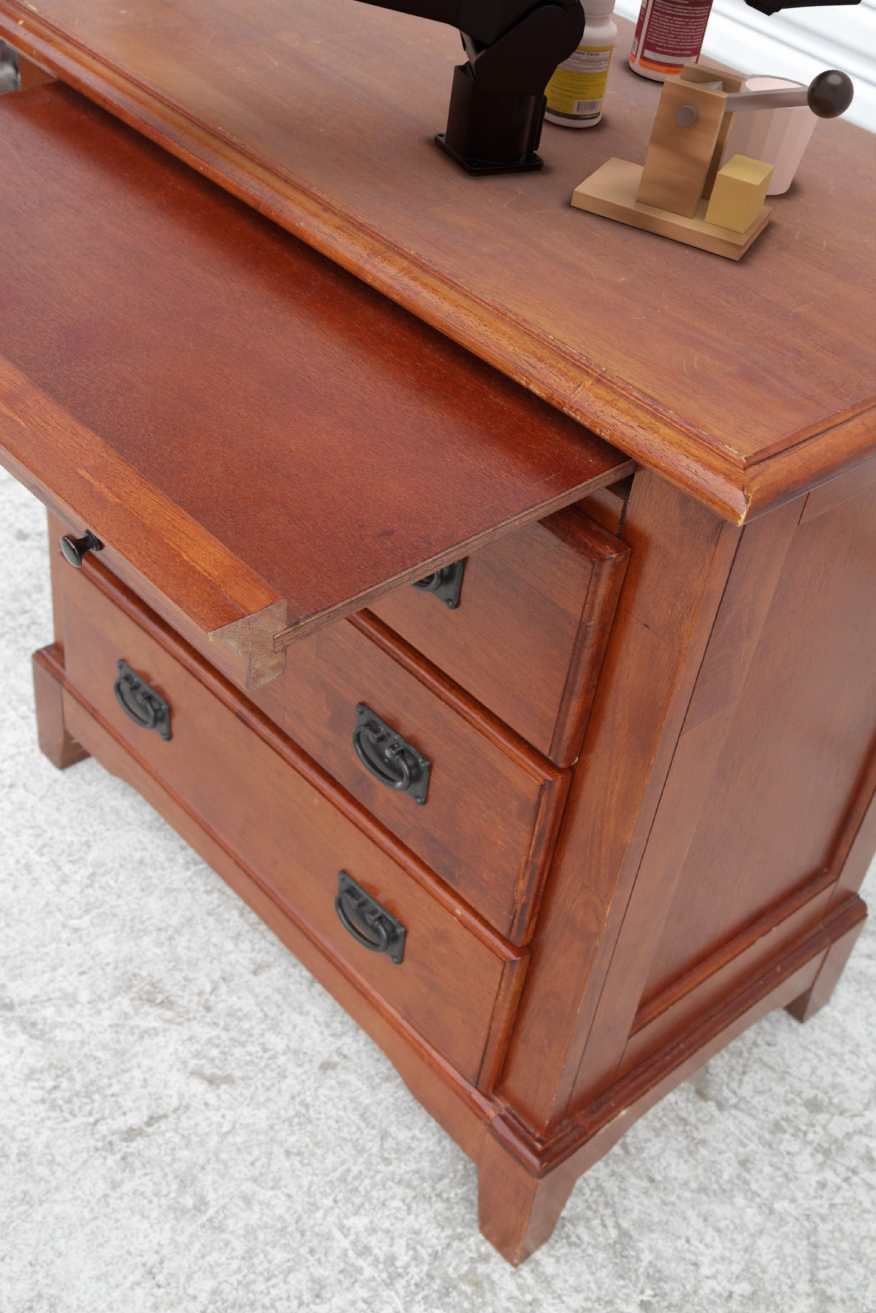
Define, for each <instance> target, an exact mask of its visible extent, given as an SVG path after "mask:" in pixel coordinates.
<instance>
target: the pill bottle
mask: <svg viewBox="0 0 876 1313" xmlns="http://www.w3.org/2000/svg"><path fill="white" fill-rule="evenodd" d="M713 4H714V0H641V3H640V8H639V12H638V16H637V17H638V18H637V22H636V26H635V30H634V34H633V41H632V44H631V50H630V54H629V58H628V59H629V61H628V63H629V67H630V69H631V70H632V71H634V72H635V73H636V74H638V75H640V76H642V77H644V78H647V79H650V80H653V81H658V82H662V83H664V81H665V79H666V78H667V77H669V76H672V77H675V78H679V79H680V76H681V72H682V68H683V65H684V64H685V63H686V62H687V61H689V62H693V63H696V64H699V60H700V56H701V52H702V48H703V43H704V40H705V35H706V32H707V28H708V24H709V19H710V16H711V11H712V8H713Z"/></svg>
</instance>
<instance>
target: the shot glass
mask: <svg viewBox="0 0 876 1313" xmlns="http://www.w3.org/2000/svg"><path fill="white" fill-rule="evenodd" d="M741 77H743V78H746V81H745V84H744V88H743V91H742V92H749V91H761V90H773V89H784V88H796V87H808V86H809V85H807V84H806V83H803V82H802V81H801V82H800V81H797V80H794V79H791V78H788V77H782V76H777V75H772V74H755V73H753V74H747V75H744V76H741ZM819 118H820V117H818V116H817V115H815V114H814V113H813V112H812V111H811V110H810V108H809V106H798V107H785V108H772V109H760V110H747V111H737V112H736V116H735V120H734V123H733V127H732V130H731V134H730V137H729V141H728V144H727V148H726V151H725V155H724V159H723V162H722V166H721V169H722V168H723V167H724V166H725V165H726V163H727V162H728V161H729V160H730V159H731V158H732V157H733V156H734V155H735V154H738V155H742V156H745V157H748V158H751V159H754V160H758V161H761V162H764V163H767V164H770V165H774V166H775V168H774V171H773V174H772V177H771V181H770V184H769V187H768V190H767V193H766V196H777V195H781V194H786V192H787V191H788V190H789V189H790V186H791V184H792V182H793V179H794V177H795V175H796V172H797V170H798V167H799V165H800V163H801V160H802V159H803V156H804V153H805V151H806V149H807V146H808V144H809V141H810V139H811V137H812V134H813V132H814V130H815V127H816V125H817V124H818V121H819ZM721 169H720V170H721Z"/></svg>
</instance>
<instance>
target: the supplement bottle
mask: <svg viewBox="0 0 876 1313" xmlns="http://www.w3.org/2000/svg"><path fill="white" fill-rule="evenodd" d="M580 2H581V4H582V6H583V8H584V13H585V22H586V23H585V29H584V35H583V38H582V40H581V42H580V44H579V46H578V48H577V49H576V50H575V52H574V53H573V54H572V55H571V56H570V57H569V58H568V59H567V60H565V61H563V62H562V63H560V64H559V65H558V66H557V68H556V70H555V72H554V74H553V75H552V77H551V79H550V81H549V83H548V85H547V86H546V88H545V93H544V94H545V95H546V96H547V98H548V101H547V107H546V112H545V118H544V120H547V121H548V122H550V123H553V124H555V125H559V126H564V127H568V128H569V127H570V128H588V127H593V126H595V125H597V124H598V123H599V122H600V121H601V119H602V115H603V111H604V107H605V102H606V96H607V91H608V87H609V82H610V77H611V72H612V66H613V61H614V56H615V52H616V46H617V40H618V35H619V34H618V33H619V32H618V31H619V30H618V28H617V25H616V24H615V22H613V21H612V20H611V19H610V16H613V14H614V10H615V5H616V0H580Z"/></svg>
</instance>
